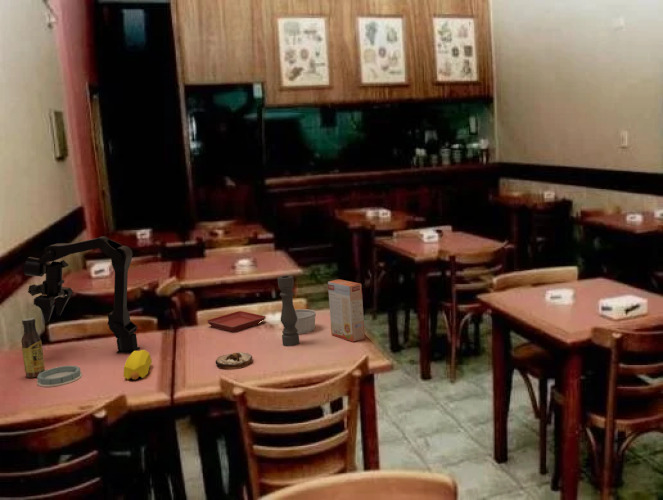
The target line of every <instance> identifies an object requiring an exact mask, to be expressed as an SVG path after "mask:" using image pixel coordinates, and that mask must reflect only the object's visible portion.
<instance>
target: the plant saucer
mask: <svg viewBox="0 0 663 500" xmlns="http://www.w3.org/2000/svg"><path fill="white" fill-rule="evenodd" d="M266 318H267V316H266V315H261V314H258V313H252V312H247V311H243V310H237V311H234V312H231V313H227V314H224V315H220V316H217V317H213V318H210V319H207V320H206V322H207V323H208V324H209V325H210V326H211V327H213V328H216V329H220V330H224V331H228V332H232V333H235V332H238V331H242V330H244V329H248V328H251V327H255V326H257V325H259V324H258V323H259V322H260V321H262V320H263V321H264V320H265V319H266Z"/></svg>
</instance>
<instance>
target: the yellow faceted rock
mask: <svg viewBox="0 0 663 500" xmlns="http://www.w3.org/2000/svg"><path fill="white" fill-rule="evenodd" d="M152 360H153V359H152V358H151V354H150V352H148V351H147V350H145V349H141V350H136V351H133V352H132V353H130V355H129V356H128V357H127V358H126V361H125V364H124V366H123V377H124V378H125V379H127V380H128V381H129V380H131V379H132V380H138V379H139V378H142V379H144V378H145V377H146V376H147V374H148V373H149V370H150V366H151V364H152V363H153V361H152Z"/></svg>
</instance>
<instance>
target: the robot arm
mask: <svg viewBox="0 0 663 500" xmlns="http://www.w3.org/2000/svg"><path fill="white" fill-rule="evenodd" d="M97 249H99V250H101V252H103V253H104V254H105V255H106V256H107V257H109V258H110V260H111V261H110V262H111V266H112V268H113V270H114V286H113V287H114V290H113V291H114V293H113V298H114V299H113V310H112V311H111V312H109V313H108V314H107V319H108V321H107V324H106V325H107V326H108V328H109V331H111V332H112V333H113V334H114V337H115V339H116V345H117V350H116V354H132V352H133V351H139V349H141V346H138V339H137V333H136V332H137V330H138V326H137V324H135V322H133V321H131V316H130V313H129V310H128V305H127V304H128V276H129V275H128V271H129V269H130V266H131V263H132V259H133V250H132V249H131V248H130V247H129V246H127V245H123V244H121V243H119V242H116V241H115V240H112V239H111V238H109V237H107V236H105V235H104V236H100V237H96V238H92V239H88V240H86V239H85V240H82V241H78V242H74V243H65V242H64V243H61V242H60V243H55V244H51V245H48V246H45V248H44V250H43V253H42V255H41V256H40V257H38V258H37V257H33V256H29V257H26V261H25V263H24V266H23V273H24V276H31V277H32V276H33V277H43V276H44V275H45V279H44V280H43V281H42V283H41V284H40V283H39V284H31V285H29V286H28V289H27V293H28V294H30V295H31V297H33V296H34V298H33V305H34V306H36V307H37V308H39V309H40V311H41V312H42V315H43V318H44V321H45V322H46V323H47V322H50V319H51V317H52V314H53V311H54V308H55V307H56V315H57V316H61V315H62V313H63V312H64V309H65V307H66V305H67V303H68V301H69V300H70V299H71V296H73V290H72V288H71V287H67V286H66V287H65V286H63V284H65V279H63V269H64V268H66V267H69V264H68V263H67V262H66V261H65V260H64V259H63V258H65V257H68V256H70V255H73V254H78V253H81V252H87V251H91V250H92V251H93V250H97ZM61 259H63V260H61ZM58 260H60V261H58ZM40 294H41V295H40ZM35 295H38V296H36V297H35Z"/></svg>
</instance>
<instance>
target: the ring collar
mask: <svg viewBox="0 0 663 500" xmlns="http://www.w3.org/2000/svg"><path fill="white" fill-rule="evenodd" d="M82 376H83V373H82V371H81V367H80V366H77V365H61V366H57V367H52V368H49V369H45V371H43V372H41V373H39V375H38V376H37V377H36V378H37V380H36V384H37V386H39V387H42V388H51V387H52V388H53V387H60V386H64V385H69V384H72V383H74V382H76V381H78V380H80V379H81V378H82Z"/></svg>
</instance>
